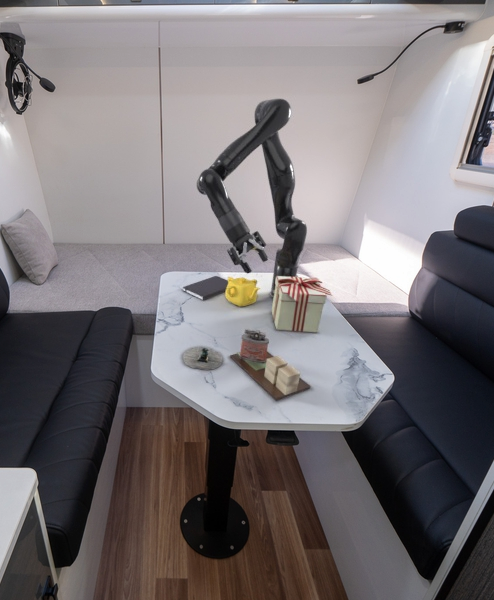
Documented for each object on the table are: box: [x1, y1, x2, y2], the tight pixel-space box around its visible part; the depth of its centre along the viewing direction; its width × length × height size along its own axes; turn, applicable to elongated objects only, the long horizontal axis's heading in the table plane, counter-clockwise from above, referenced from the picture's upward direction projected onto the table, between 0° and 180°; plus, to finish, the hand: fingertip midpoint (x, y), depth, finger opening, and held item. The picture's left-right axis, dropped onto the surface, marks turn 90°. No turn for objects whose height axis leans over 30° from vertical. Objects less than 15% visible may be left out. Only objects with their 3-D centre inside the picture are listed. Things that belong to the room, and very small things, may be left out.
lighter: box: [240, 328, 270, 364], centre depth 111 cm, size 8×3×10 cm, turn 70°
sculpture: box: [182, 346, 224, 371], centre depth 115 cm, size 12×9×8 cm
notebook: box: [182, 275, 228, 301], centre depth 162 cm, size 13×2×21 cm
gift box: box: [271, 276, 333, 334], centre depth 132 cm, size 17×18×17 cm
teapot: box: [224, 276, 261, 307], centre depth 149 cm, size 14×13×10 cm
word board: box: [229, 351, 312, 401], centre depth 108 cm, size 12×22×7 cm, turn 26°
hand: (257, 266), depth 126 cm, fingers open, 8 cm apart
